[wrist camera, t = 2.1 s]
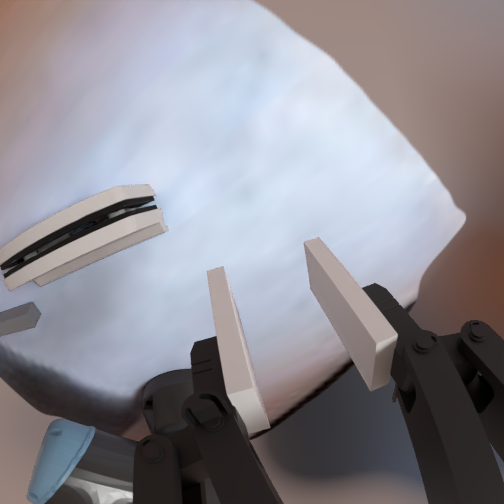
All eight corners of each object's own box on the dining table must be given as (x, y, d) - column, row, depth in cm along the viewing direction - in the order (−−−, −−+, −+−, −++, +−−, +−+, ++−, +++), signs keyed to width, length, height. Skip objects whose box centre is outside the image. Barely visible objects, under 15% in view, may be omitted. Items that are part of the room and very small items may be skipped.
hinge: (46, 283, 29) (-5, 312, 20) (31, 245, 28) (-24, 262, 19) (172, 228, 30) (147, 243, 20) (155, 184, 29) (123, 177, 19)
